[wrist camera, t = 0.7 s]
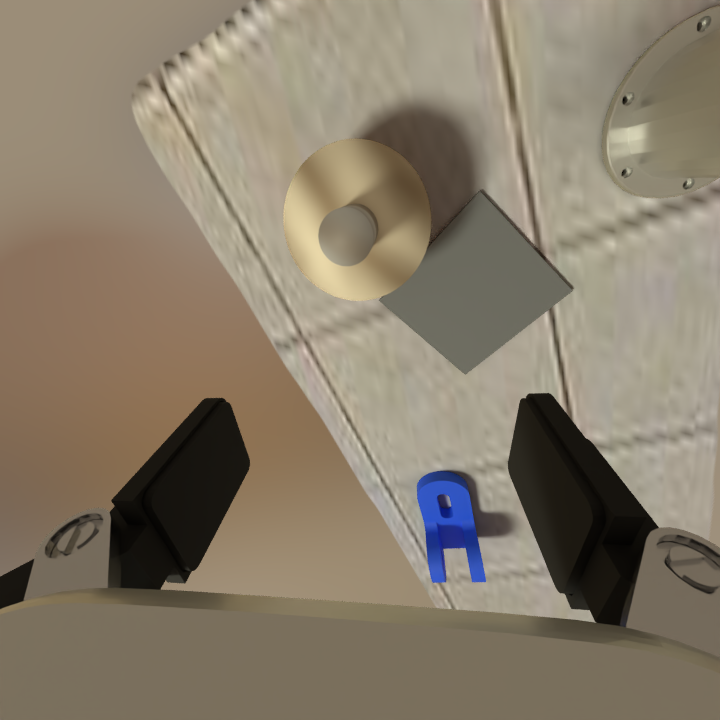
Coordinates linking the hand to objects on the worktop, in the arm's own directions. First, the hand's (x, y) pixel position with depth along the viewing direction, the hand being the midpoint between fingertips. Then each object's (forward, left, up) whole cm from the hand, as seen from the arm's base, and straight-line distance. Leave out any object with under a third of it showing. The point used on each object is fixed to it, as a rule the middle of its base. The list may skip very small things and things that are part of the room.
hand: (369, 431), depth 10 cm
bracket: (+25, +36, -29) cm, 52 cm away
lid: (-1, -5, -23) cm, 23 cm away
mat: (-3, +10, -29) cm, 30 cm away
